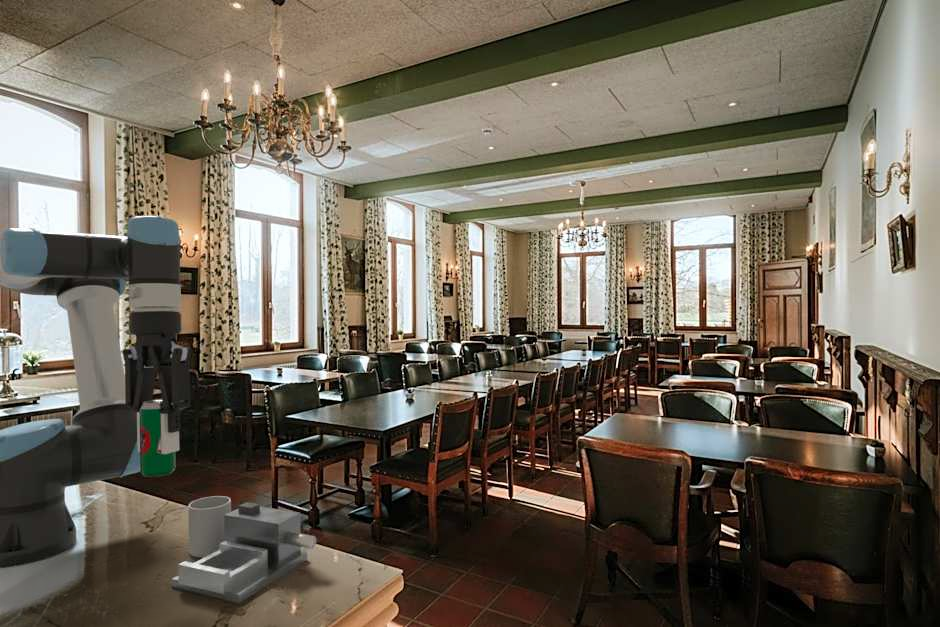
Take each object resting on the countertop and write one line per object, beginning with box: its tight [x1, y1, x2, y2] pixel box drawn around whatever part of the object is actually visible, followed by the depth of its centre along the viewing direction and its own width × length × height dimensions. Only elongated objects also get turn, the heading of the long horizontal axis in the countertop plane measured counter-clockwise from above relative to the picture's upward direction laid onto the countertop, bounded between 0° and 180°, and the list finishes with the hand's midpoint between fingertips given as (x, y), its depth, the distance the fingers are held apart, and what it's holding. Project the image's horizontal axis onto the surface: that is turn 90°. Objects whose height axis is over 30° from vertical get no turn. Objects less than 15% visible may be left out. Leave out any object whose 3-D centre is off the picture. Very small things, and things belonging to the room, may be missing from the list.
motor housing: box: [171, 501, 317, 604], centre depth 93 cm, size 18×17×10 cm
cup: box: [187, 495, 232, 558], centre depth 104 cm, size 7×10×9 cm
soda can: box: [139, 398, 177, 478], centre depth 92 cm, size 5×5×12 cm
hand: (158, 450), depth 92 cm, fingers closed on soda can, 5 cm apart
